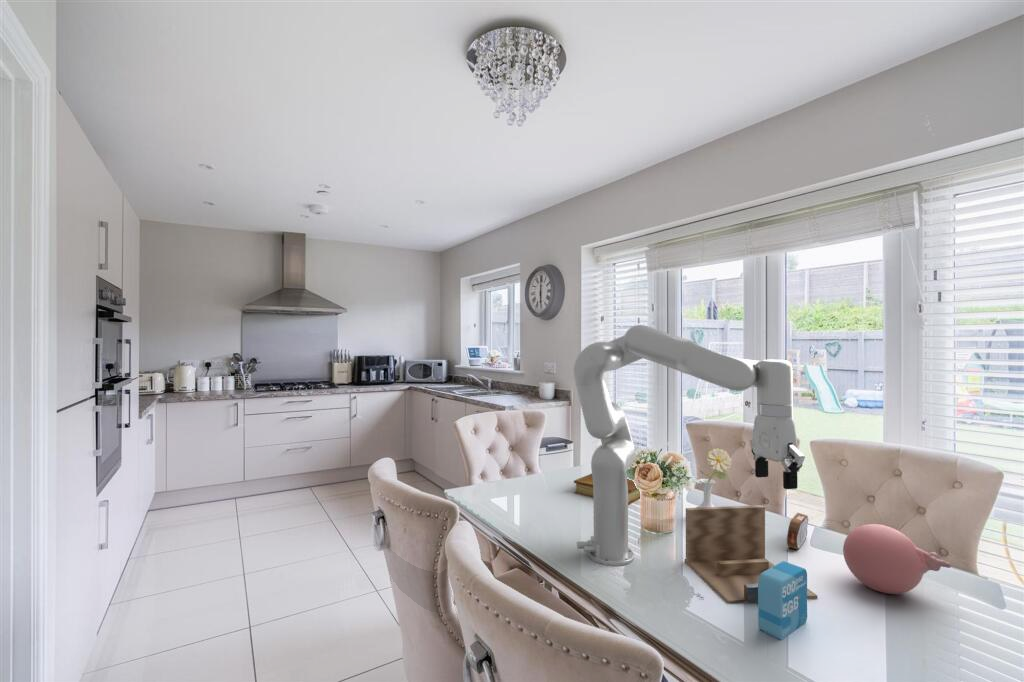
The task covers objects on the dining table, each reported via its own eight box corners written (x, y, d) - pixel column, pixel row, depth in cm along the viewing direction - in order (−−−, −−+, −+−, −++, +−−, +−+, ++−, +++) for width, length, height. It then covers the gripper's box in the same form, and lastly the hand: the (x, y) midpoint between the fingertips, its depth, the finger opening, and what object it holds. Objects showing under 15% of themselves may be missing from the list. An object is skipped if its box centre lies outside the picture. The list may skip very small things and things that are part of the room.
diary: (648, 495, 187) (648, 480, 187) (626, 507, 172) (626, 492, 172) (598, 483, 202) (597, 470, 202) (573, 494, 187) (573, 480, 187)
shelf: (728, 605, 107) (728, 539, 107) (684, 562, 128) (684, 507, 128) (817, 599, 110) (817, 535, 110) (760, 558, 130) (760, 504, 131)
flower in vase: (688, 525, 154) (688, 449, 154) (689, 514, 165) (689, 442, 165) (732, 531, 149) (732, 453, 149) (730, 519, 160) (730, 445, 160)
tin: (798, 535, 146) (797, 508, 146) (809, 538, 144) (809, 511, 144) (785, 551, 135) (785, 522, 135) (798, 554, 133) (798, 525, 133)
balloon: (952, 623, 100) (952, 551, 100) (839, 591, 113) (838, 527, 113) (950, 595, 112) (949, 530, 112) (847, 568, 125) (847, 510, 125)
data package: (780, 643, 94) (780, 583, 94) (757, 632, 97) (757, 574, 97) (807, 623, 100) (807, 566, 101) (785, 613, 104) (785, 558, 104)
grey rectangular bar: (748, 600, 107) (748, 587, 107) (744, 597, 109) (744, 584, 109) (800, 597, 109) (800, 584, 109) (796, 594, 110) (796, 581, 110)
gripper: (737, 406, 121) (738, 473, 121) (786, 417, 104) (787, 494, 104) (764, 406, 122) (765, 472, 122) (817, 416, 105) (817, 492, 105)
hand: (775, 482), depth 113 cm, fingers open, 9 cm apart
